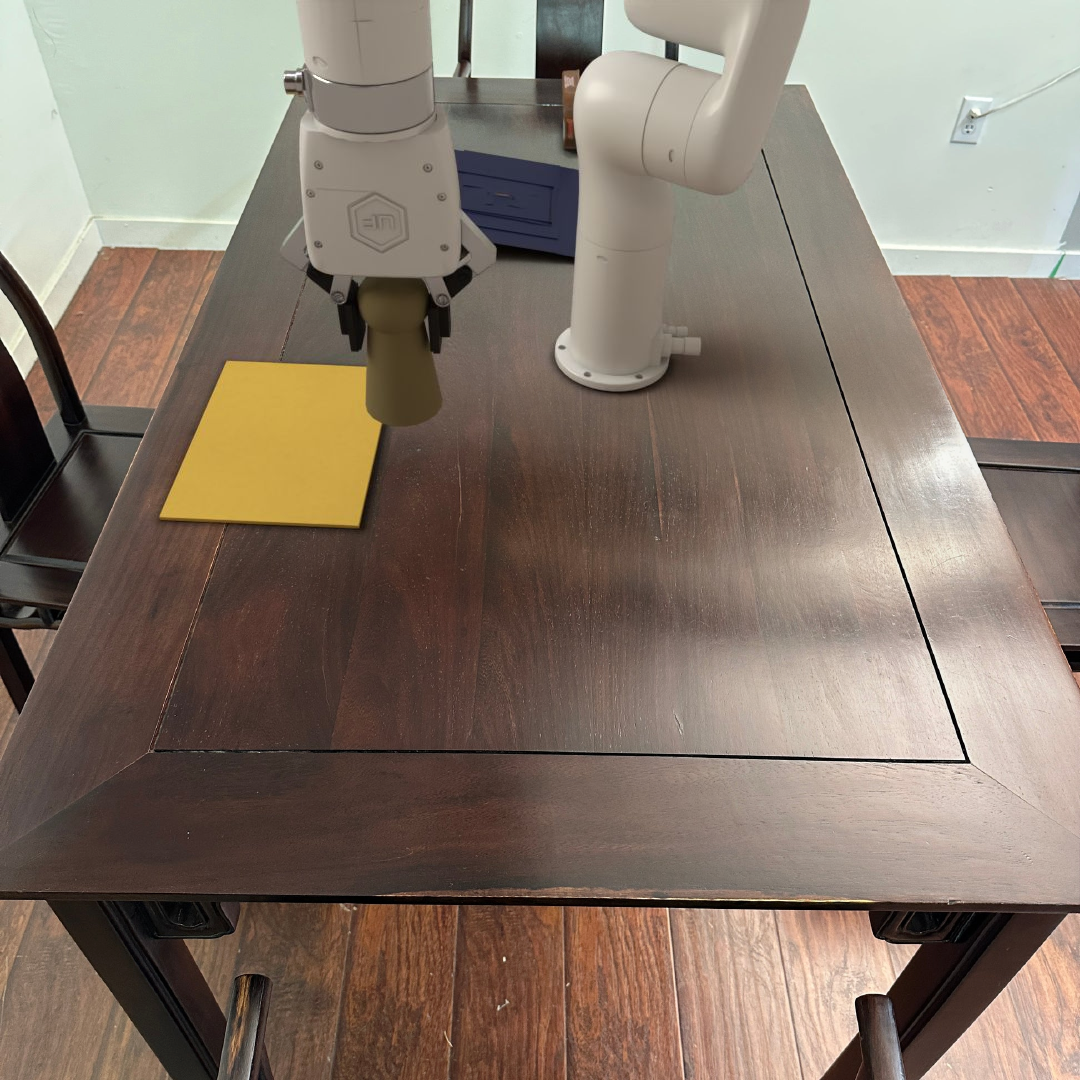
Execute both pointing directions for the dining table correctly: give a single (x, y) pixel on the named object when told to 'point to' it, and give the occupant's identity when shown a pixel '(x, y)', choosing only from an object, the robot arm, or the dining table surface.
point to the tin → (569, 107)
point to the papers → (520, 201)
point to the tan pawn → (398, 351)
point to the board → (279, 448)
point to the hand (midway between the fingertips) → (397, 339)
